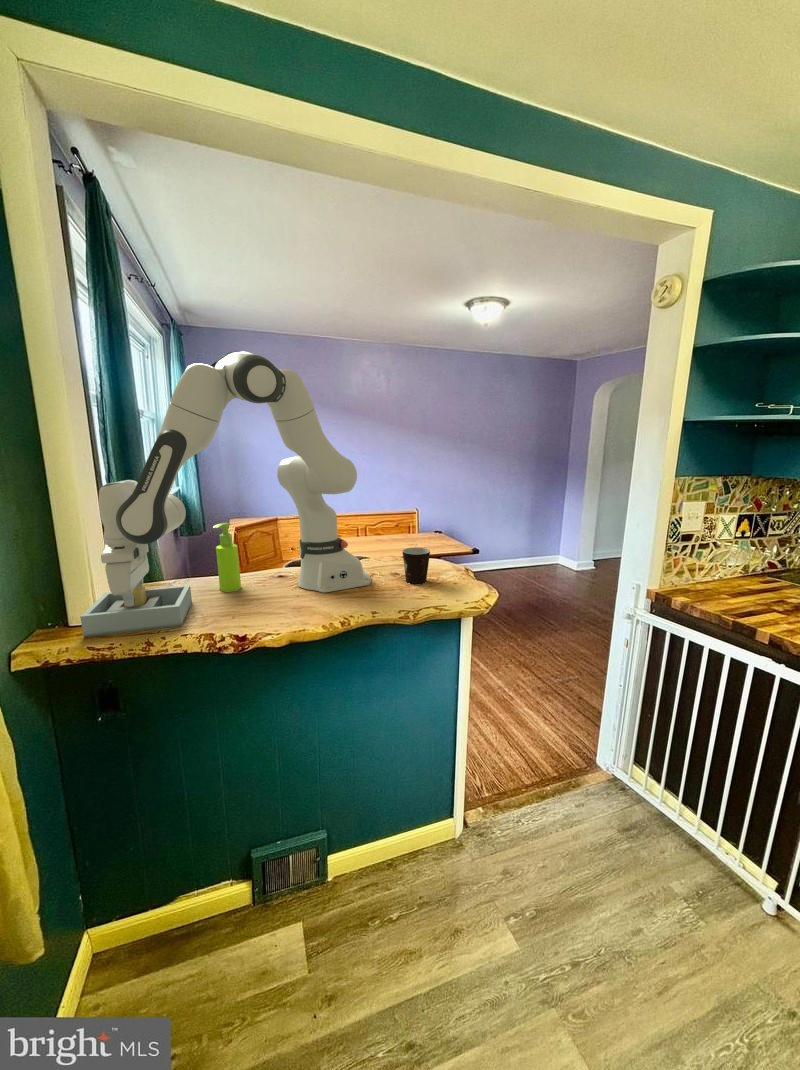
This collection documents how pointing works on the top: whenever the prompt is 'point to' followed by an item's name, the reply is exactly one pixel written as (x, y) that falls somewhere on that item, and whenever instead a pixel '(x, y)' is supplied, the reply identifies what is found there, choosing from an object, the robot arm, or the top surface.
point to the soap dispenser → (227, 561)
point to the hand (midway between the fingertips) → (134, 600)
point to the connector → (139, 596)
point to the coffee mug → (416, 564)
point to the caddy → (137, 612)
